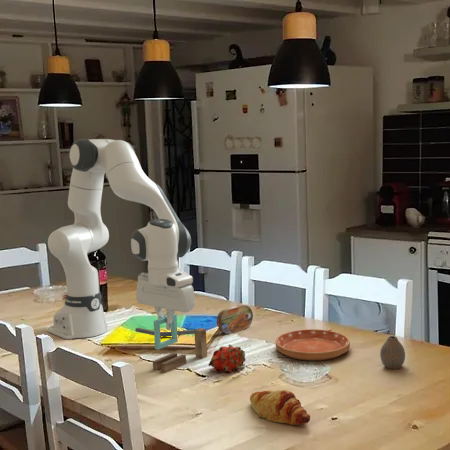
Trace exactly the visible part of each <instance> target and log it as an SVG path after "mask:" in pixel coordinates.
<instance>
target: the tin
mask: <svg viewBox="0 0 450 450" xmlns="http://www.w3.org/2000/svg"><path fill="white" fill-rule="evenodd" d="M253 318H254V314H253V310H252V309H251V307H250V306H249V305H247V304H238V305H236V306H235V305H234V306H232V307H231V306H230V307H229V308H225V309H222V310H221V311H220V312H219V313H218V314H217V317H216V326H218V327H219V329H218V330H219V331H220V332H221V333H223V334H227V335H231V334H233V333H237V332H240V331H242V330H243V331H244V330H246V329H249V327H250V326H251V324H252V322H253ZM218 327H217V328H218Z"/></svg>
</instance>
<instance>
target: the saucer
mask: <svg viewBox="0 0 450 450" xmlns="http://www.w3.org/2000/svg"><path fill="white" fill-rule="evenodd" d="M350 346H351V340H350V338H349V337H348V336H347V335H345V334H343V333H341V332H337V331H334V330H327V329H319V328H316V329H314V328H313V329H310V328H309V329H298V330H297V329H296V330H292V331H288V332H285V333H283V334H281V335H279V336H277V337H276V338H275V348H276V350H277V351H278V352H280V353H282V354H284V355H285V356H287V357H290V358H292V359H295V360H296V359H297V360H301V361H326V360H332V359H335V358H338V357H340V356H342V355H343V354H345V353H347V352H348V351H349V350H350V348H351V347H350Z"/></svg>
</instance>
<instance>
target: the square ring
mask: <svg viewBox="0 0 450 450" xmlns="http://www.w3.org/2000/svg"><path fill="white" fill-rule="evenodd" d="M166 317H167V316H166ZM172 320H173V322H172V323H171V333H172V337H170V338H169V339H166V340H164V341H161V337H160V331H161V325H162V324H166V323H165V317H163V318H160V319H158V318H157V319H155V320H153V331H154V335H153V336H154V350H161V349H164V348H165V347H169V346H171V345H174V344H176V343H178V340H179V339H178V337H177V328H178V319H177V314H175V313H174V315H173V317H172Z"/></svg>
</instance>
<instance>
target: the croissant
mask: <svg viewBox="0 0 450 450" xmlns="http://www.w3.org/2000/svg"><path fill="white" fill-rule="evenodd" d="M249 401H250V403H251V404H250V405H251V407H252V409H253V410H254V412H255V413H256V414H257V415H258V417H259V418H262V419H265V420H267V421H269V422H272V421H273V422H274V423H281V424H286V423H287V425H291V426H292V425H293V426H302V425H304V424H308V423H309V422H310V421H311V415H310V414H309V413H308V412H307V409H305V408H304V407H303V406H302V403H301V401H300V399H298V398H297V397H296V394H295V393H293V392H292V391H290V390H287V389H281V390H280V389H279V390H262V391H256V392H252V393H251V394H250V396H249ZM273 422H272V423H273Z"/></svg>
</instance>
